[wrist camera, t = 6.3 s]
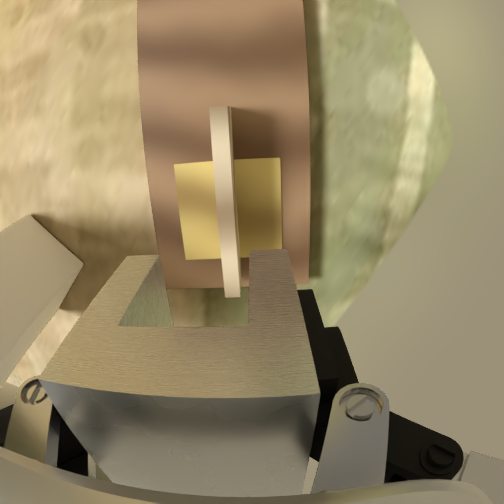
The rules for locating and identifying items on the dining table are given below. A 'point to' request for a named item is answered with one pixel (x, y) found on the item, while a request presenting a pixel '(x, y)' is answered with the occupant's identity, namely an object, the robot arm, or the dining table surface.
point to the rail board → (225, 136)
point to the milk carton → (30, 286)
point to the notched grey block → (191, 386)
